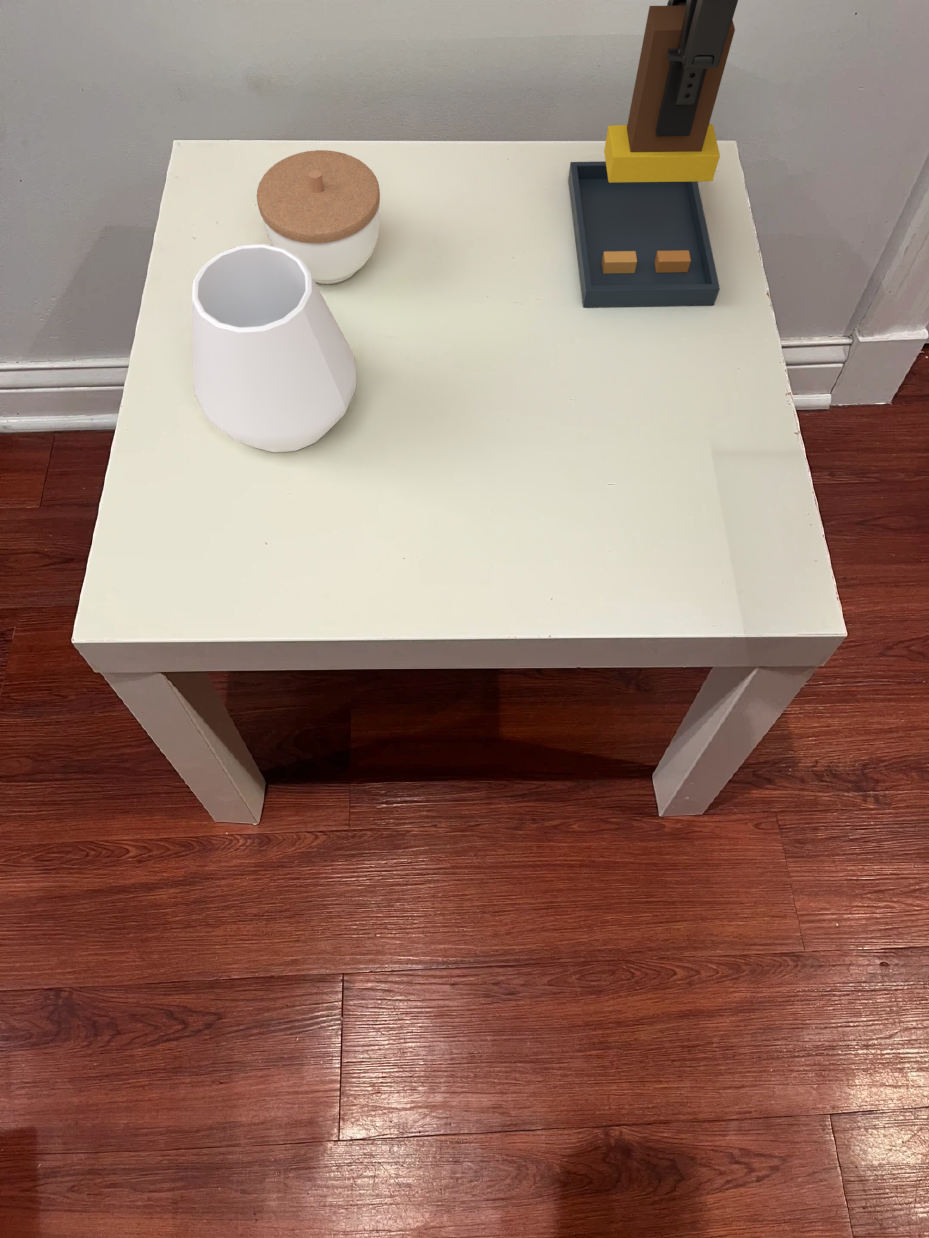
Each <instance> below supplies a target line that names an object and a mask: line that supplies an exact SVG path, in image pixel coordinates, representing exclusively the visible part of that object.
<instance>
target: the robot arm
mask: <svg viewBox="0 0 929 1238" xmlns="http://www.w3.org/2000/svg"><path fill="white" fill-rule="evenodd" d="M738 2H739V0H667V3H666V6H686V8H685V13H684V19H683V24H682V30H681V35H680V40H679V46H678V49H668V52H667V60H668V62H670V66H669V71H668V76H667V80H666V85H665V89H664V94H663V98H662V103H661V108H660V112H659V117H658V121H657V126H656V130H655V131H656V136H690V132H691V129H692V125H693V121H694V117H695V113H696V109H697V105H698V101H699V98H700V94H701V90H702V86H703V82H704V78H705V74H706V70H707V68H718V66H719V63H720V61H721V56H722V53H723V49H724V46H725V43H726V39H727V36H728V33H729V29H730V26H731V23H732V20H733V19H734V15H735V13H736V9H737V5H738Z"/></svg>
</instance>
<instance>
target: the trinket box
mask: <svg viewBox="0 0 929 1238" xmlns="http://www.w3.org/2000/svg"><path fill="white" fill-rule="evenodd" d="M380 191H381V189H380V185H379V181H378V179H377V176H376V175H375V173H374V171H373V170H372V169H371V168H370V167H369V166H368V165H367V164H366V163H364V162H363V161H361V160H360V159H359V158H357V157H355V156H352V155H349V154H347V153H345V152H340V151H335V150H327V149H323V150H322V149H320V150H319V149H315V150H307V151H303V152H298V153H294V154H292V155H289V156H287V157H285V158H283V159H281V160H279V161H278V162H276V163H274V165H272V166H271V167H270V168H268V169H267V171H266V172H265V173H264V175H263V176H262V178H261V179H260V181H259V183H258V185H257V190H256V203H257V208H258V211H259V214H260V216H261V218H262V223H263V227H264V229H265V232H266V235H267V237H268V240H269V242H270V245H271V246H276V247H280V248H284V249H286V250H288V251H289V252H291V253H293V254H294V255H296V256H297V257H299V258H300V259H302V261H303V262H304V264H305V265H306V267H307V269H308V270H309V272H310V274H311V275H312V277H313V279H314V281H315V283H316V284H320V285H321V284H322V285H335V284H338V283H342V282H345V281H347V280H348V279H350V278H351V277H353V276H354V275H355V274H356V273H357V272H358V271H359V270H360V269H361V268H362V267H364V265H366V263H367V262H368V260H369V259H370V258H371V257H372V255H373V253H374V250H375V248H376V246H377V242H378V238H379V234H380V225H381V224H380V223H381V207H380V201H381V192H380Z"/></svg>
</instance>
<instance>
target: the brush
mask: <svg viewBox="0 0 929 1238" xmlns="http://www.w3.org/2000/svg"><path fill="white" fill-rule="evenodd" d="M685 8H686V6H667V5H649V7H648V13H647V18H646V23H645V29H644V34H643V38H642V39H643V40H642V45H641V48H640V49H641V51H640V55H639V60H638V66H637V71H636V76H635V82H634V87H633V92H632V98H631V104H630V108H629V114H628V119H627V124H613V125H612V124H611V125H610V124H609V125H608V127H607V130H606V131H607V132H606V138H605V144H604V149H603V150H604V151H603V152H604V153H603V154H604V160H605V161H606V168H607V174H608V181H609V183H614V182H694V181H697V182H713V180H714V178H715V173H716V170H717V168H718V165H719V161H720V158H721V154H720V149H719V145H718V140H717V136H716V132H715V127H714V124H713V123H711V119H712V116H713V111H714V108H715V104H716V100H717V98H718V94H719V90H720V87H721V83H722V79H723V75H724V73H725V68H726V64H727V61H728V56H729V53H730V49H731V47H732V46H731V45H732V42H733V40H734V35H735V33H736V28H735V24H734V21H733V19H732V23H731V26H730V29H729V33H728V36H727V39H726V43H725V46H724V49H723V53H722V56H721V61H720V63H719V66H718V68H707V70H706V74H705V78H704V82H703V86H702V90H701V94H700V98H699V101H698V105H697V109H696V113H695V117H694V121H693V125H692V129H691V132H690V136H656V131H655V130H656V126H657V121H658V117H659V112H660V108H661V103H662V98H663V94H664V89H665V85H666V80H667V76H668V71H669V66H670V62H668V60H667V52H668V49H678V46H679V40H680V35H681V30H682V24H683V19H684V13H685Z"/></svg>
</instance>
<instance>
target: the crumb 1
mask: <svg viewBox="0 0 929 1238" xmlns="http://www.w3.org/2000/svg"><path fill="white" fill-rule="evenodd" d="M636 265H637V258H636V251H606V252H603V258H602V271H603V274H619V273H635V269H636Z"/></svg>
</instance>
